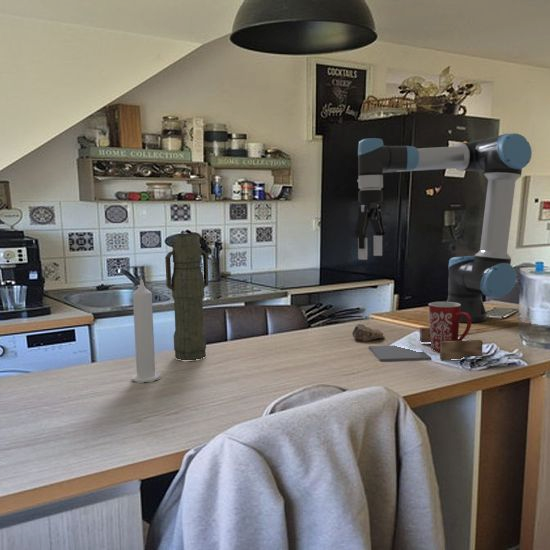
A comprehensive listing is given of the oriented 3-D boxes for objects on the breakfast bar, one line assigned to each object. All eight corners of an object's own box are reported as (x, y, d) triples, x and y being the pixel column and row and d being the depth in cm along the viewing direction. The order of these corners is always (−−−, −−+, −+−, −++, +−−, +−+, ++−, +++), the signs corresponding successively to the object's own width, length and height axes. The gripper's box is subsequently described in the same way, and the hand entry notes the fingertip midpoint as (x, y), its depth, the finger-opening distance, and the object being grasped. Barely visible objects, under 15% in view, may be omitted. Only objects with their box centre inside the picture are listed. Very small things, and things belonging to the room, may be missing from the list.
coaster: (415, 346, 164) (415, 344, 164) (430, 359, 150) (431, 357, 150) (368, 348, 164) (368, 346, 164) (380, 361, 150) (380, 359, 150)
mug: (421, 349, 161) (421, 303, 159) (439, 344, 166) (440, 300, 165) (459, 358, 151) (460, 309, 149) (477, 352, 157) (479, 305, 155)
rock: (355, 343, 171) (387, 336, 171) (351, 324, 172) (383, 318, 172) (352, 343, 179) (383, 337, 179) (348, 326, 180) (378, 319, 180)
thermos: (164, 357, 157) (159, 234, 153) (202, 351, 164) (197, 232, 160) (177, 364, 150) (172, 235, 146) (216, 357, 157) (212, 233, 152)
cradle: (455, 342, 169) (455, 326, 168) (482, 359, 150) (482, 341, 149) (419, 343, 168) (420, 327, 167) (442, 360, 149) (442, 342, 148)
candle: (130, 376, 140) (125, 278, 137) (158, 373, 142) (153, 276, 139) (133, 384, 133) (128, 282, 130) (163, 381, 136) (158, 280, 133)
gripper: (372, 190, 185) (372, 253, 188) (343, 189, 164) (344, 260, 166) (394, 189, 181) (394, 254, 184) (367, 188, 160) (367, 261, 163)
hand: (370, 257), depth 175 cm, fingers open, 13 cm apart
